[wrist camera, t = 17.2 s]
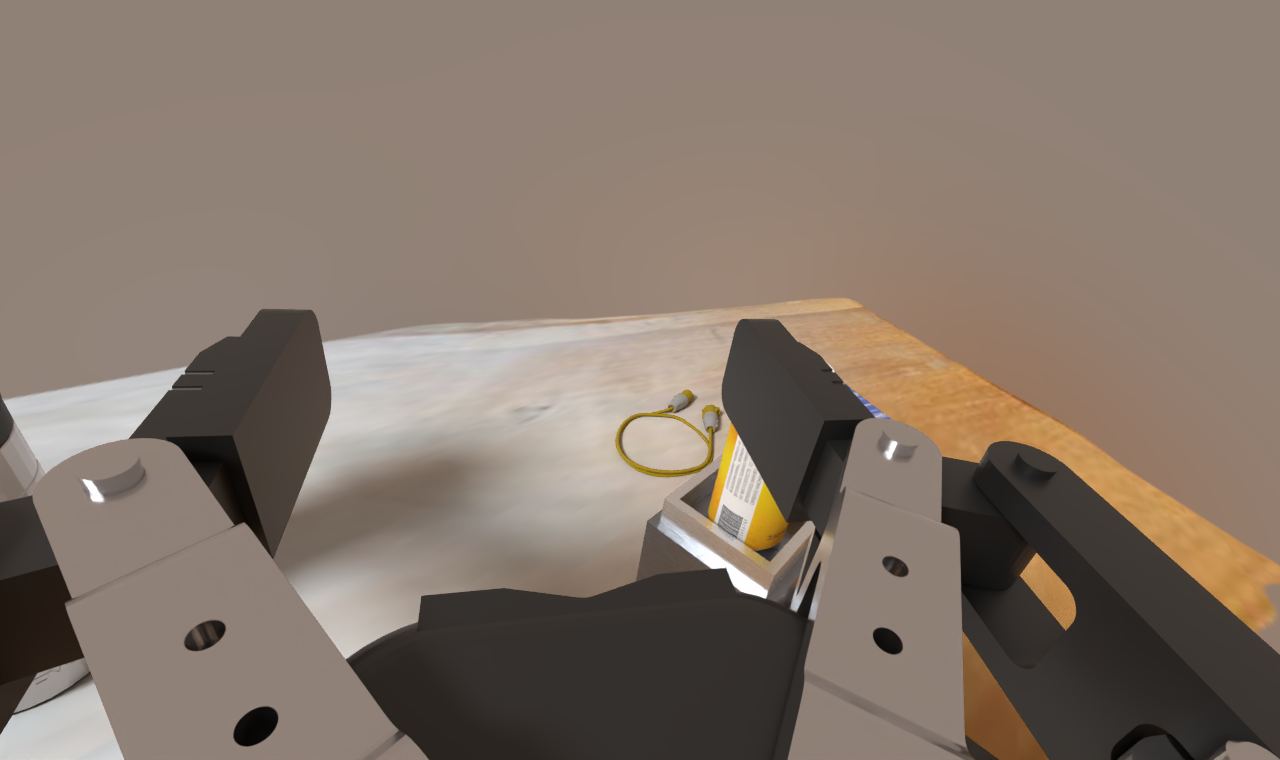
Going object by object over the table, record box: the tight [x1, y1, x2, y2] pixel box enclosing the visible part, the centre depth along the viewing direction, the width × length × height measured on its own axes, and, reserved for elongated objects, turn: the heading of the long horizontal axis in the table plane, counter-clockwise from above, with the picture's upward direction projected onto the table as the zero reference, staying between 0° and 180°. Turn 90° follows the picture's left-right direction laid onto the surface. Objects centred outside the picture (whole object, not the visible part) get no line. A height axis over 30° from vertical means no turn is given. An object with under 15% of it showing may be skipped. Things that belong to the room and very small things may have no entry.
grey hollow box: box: [636, 455, 815, 608], centre depth 46 cm, size 15×11×10 cm
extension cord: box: [615, 390, 721, 477], centre depth 67 cm, size 12×16×2 cm
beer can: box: [708, 361, 835, 551], centre depth 41 cm, size 6×6×15 cm
